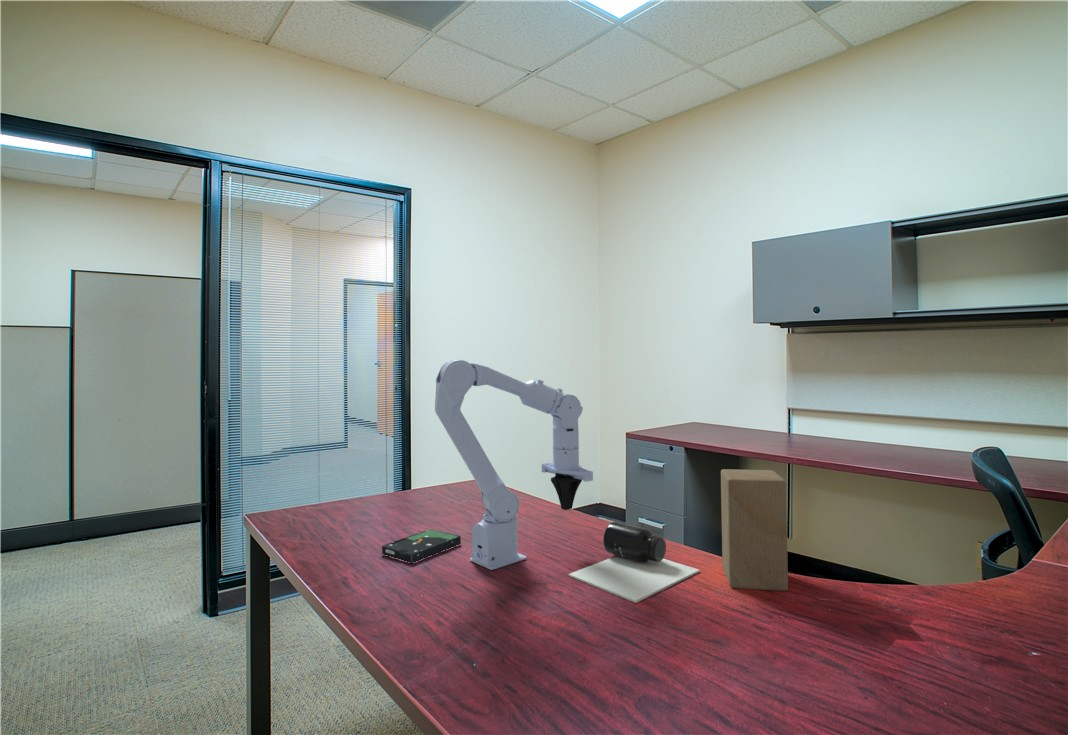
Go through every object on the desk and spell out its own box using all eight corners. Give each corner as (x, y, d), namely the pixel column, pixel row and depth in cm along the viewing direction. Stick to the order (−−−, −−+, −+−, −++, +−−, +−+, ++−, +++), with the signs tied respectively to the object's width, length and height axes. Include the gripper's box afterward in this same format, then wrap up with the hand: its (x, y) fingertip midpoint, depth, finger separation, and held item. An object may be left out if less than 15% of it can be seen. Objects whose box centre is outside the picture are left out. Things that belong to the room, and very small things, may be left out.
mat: (635, 602, 94) (635, 600, 94) (568, 576, 106) (568, 573, 106) (699, 571, 107) (699, 569, 107) (633, 551, 119) (633, 549, 119)
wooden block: (788, 592, 97) (786, 480, 97) (729, 588, 99) (727, 479, 99) (775, 571, 106) (773, 469, 106) (722, 568, 108) (720, 468, 108)
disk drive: (412, 568, 114) (461, 546, 126) (412, 554, 114) (461, 534, 126) (381, 558, 120) (430, 538, 132) (380, 545, 120) (430, 527, 132)
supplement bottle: (598, 550, 114) (648, 564, 106) (606, 518, 116) (655, 529, 108) (616, 555, 119) (665, 569, 110) (623, 524, 121) (671, 535, 112)
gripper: (602, 449, 117) (603, 511, 117) (557, 442, 128) (557, 499, 128) (579, 453, 113) (580, 518, 113) (534, 445, 124) (535, 505, 124)
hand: (566, 508), depth 120 cm, fingers closed
